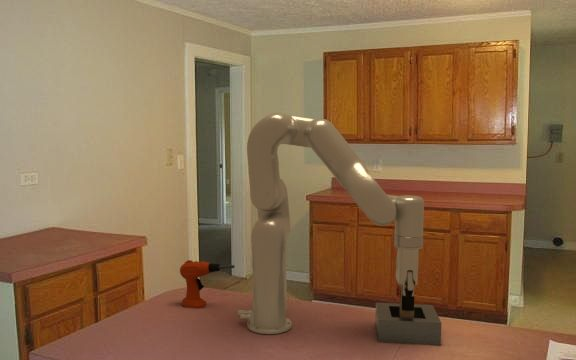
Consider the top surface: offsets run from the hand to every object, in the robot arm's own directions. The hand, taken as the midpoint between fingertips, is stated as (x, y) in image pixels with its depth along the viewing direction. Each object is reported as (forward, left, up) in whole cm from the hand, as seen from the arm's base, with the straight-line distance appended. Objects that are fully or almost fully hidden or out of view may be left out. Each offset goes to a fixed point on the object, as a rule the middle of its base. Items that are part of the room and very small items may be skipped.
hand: (406, 306), depth 139 cm
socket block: (0, 0, -7) cm, 7 cm away
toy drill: (-60, +14, -8) cm, 62 cm away
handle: (0, 0, -6) cm, 6 cm away
